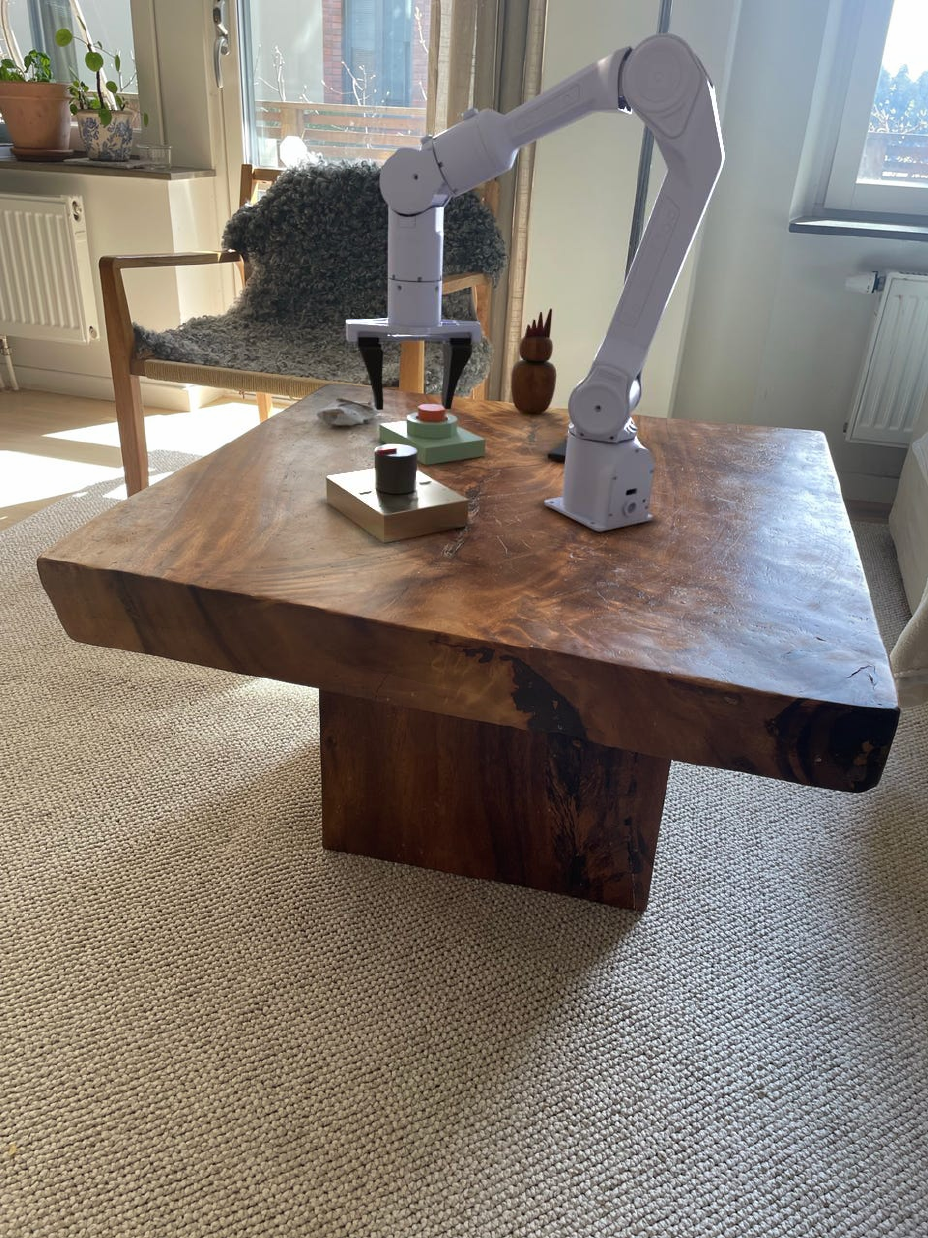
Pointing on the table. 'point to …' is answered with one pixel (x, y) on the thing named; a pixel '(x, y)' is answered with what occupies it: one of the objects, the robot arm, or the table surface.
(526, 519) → the table surface
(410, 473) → the dial
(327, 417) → the stone
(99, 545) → the table surface
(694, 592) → the table surface
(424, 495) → the panel
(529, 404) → the wooden figurine
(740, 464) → the table surface
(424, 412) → the button
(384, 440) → the button block
